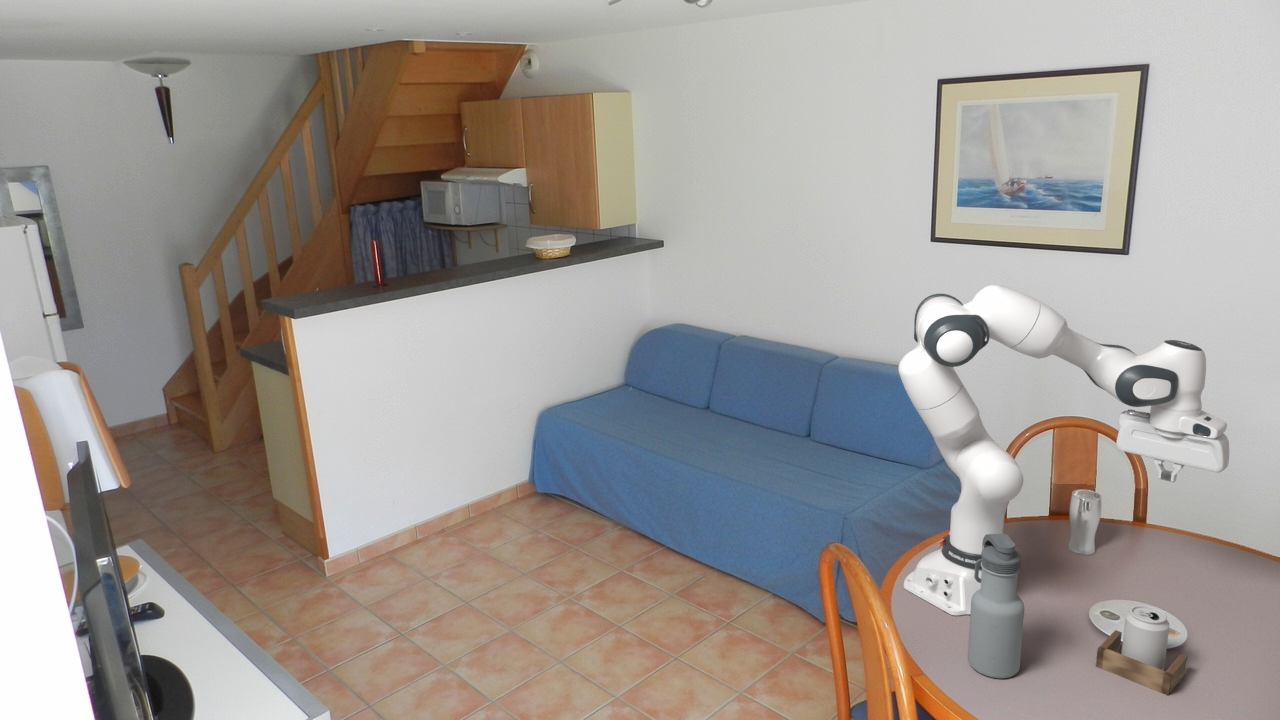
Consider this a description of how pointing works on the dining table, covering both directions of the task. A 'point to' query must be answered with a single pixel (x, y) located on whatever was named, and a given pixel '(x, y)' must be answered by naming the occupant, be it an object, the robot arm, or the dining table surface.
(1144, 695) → the dining table surface
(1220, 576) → the dining table surface
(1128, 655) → the can
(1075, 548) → the beer glass
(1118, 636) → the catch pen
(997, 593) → the water bottle
